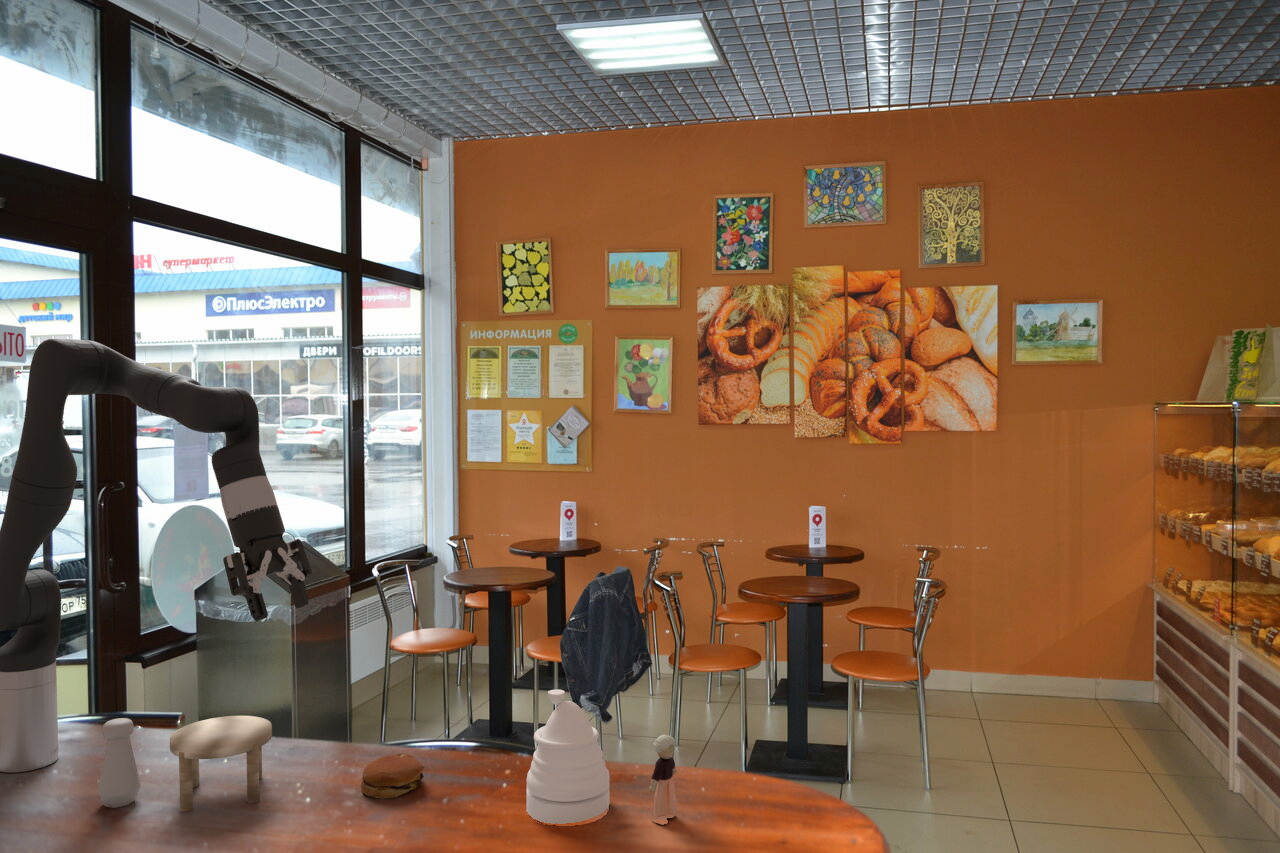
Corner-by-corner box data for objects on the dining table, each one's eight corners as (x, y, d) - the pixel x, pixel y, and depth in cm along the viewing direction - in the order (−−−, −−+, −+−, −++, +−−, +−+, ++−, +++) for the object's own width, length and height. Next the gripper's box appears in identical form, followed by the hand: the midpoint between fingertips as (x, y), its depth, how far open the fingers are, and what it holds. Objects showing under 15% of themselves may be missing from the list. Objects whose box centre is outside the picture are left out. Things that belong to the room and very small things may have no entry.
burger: (357, 802, 152) (357, 772, 152) (365, 778, 161) (365, 751, 161) (421, 798, 154) (421, 769, 153) (426, 775, 163) (426, 748, 163)
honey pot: (511, 819, 146) (511, 701, 145) (548, 786, 158) (548, 677, 157) (590, 832, 142) (589, 711, 141) (622, 797, 154) (621, 685, 153)
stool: (164, 819, 146) (163, 754, 145) (177, 781, 160) (176, 721, 160) (271, 805, 151) (270, 742, 150) (274, 769, 165) (273, 711, 164)
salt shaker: (148, 795, 154) (146, 714, 154) (125, 811, 149) (124, 727, 148) (114, 793, 155) (112, 713, 155) (90, 809, 149) (88, 726, 149)
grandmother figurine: (670, 830, 142) (670, 745, 142) (645, 826, 143) (645, 742, 143) (683, 808, 150) (683, 727, 149) (659, 805, 151) (659, 725, 150)
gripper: (268, 512, 156) (297, 609, 154) (197, 524, 143) (228, 630, 141) (302, 498, 153) (333, 596, 151) (233, 509, 140) (265, 617, 138)
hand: (282, 613), depth 146 cm, fingers open, 8 cm apart
